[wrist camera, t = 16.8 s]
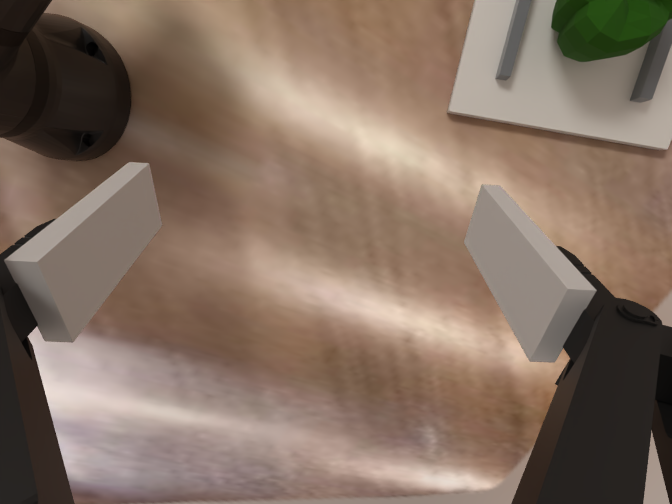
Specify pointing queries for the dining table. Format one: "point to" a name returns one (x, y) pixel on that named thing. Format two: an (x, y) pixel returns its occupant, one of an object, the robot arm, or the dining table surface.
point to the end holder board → (561, 79)
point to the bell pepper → (607, 26)
